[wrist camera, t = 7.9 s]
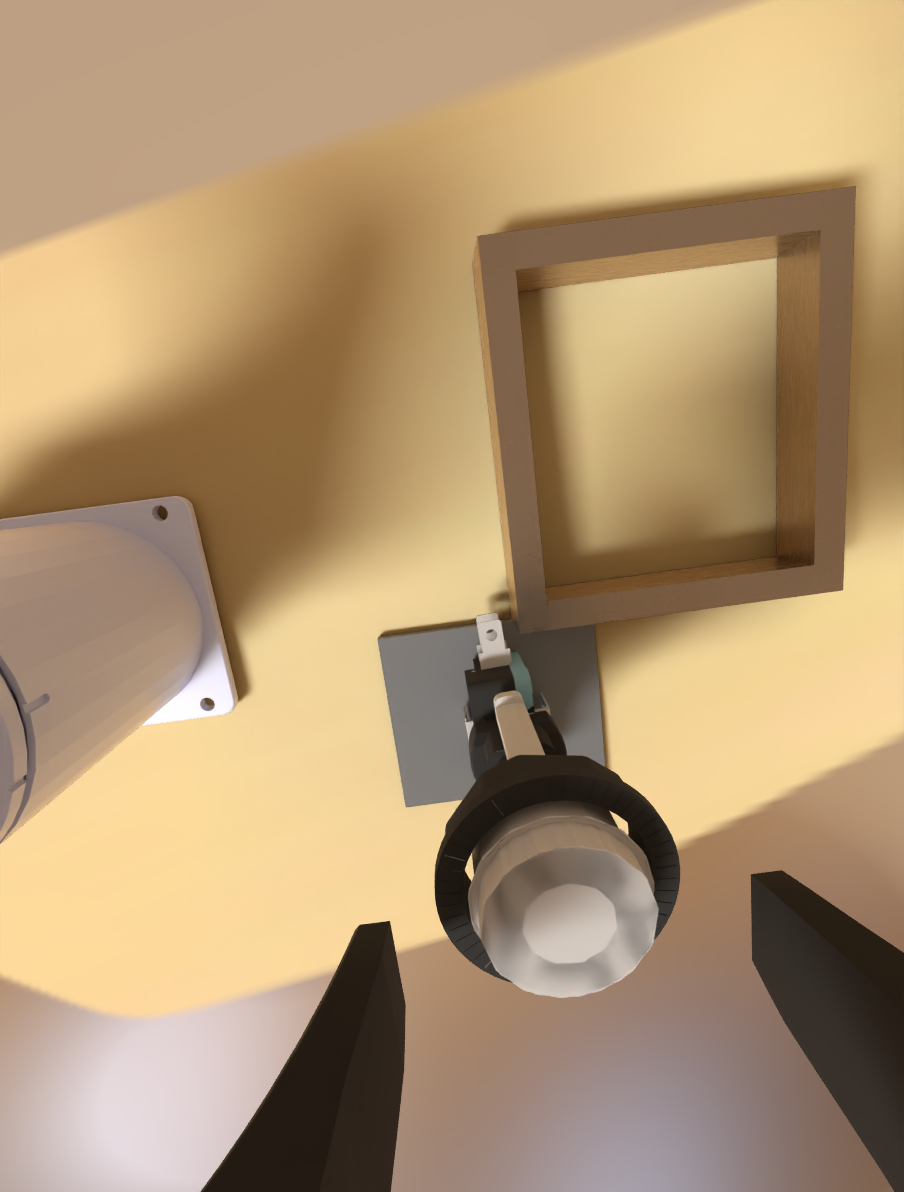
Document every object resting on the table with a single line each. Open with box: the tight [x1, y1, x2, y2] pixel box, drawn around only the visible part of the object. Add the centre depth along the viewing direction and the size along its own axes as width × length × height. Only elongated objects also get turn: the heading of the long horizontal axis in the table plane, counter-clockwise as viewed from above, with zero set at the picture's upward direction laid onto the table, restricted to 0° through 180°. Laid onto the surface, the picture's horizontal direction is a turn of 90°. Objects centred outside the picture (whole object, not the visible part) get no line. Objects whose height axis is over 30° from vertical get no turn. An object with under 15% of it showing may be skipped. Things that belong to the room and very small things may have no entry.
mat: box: [378, 619, 605, 807], centre depth 20 cm, size 8×7×1 cm
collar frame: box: [472, 186, 856, 634], centre depth 18 cm, size 11×12×2 cm
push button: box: [435, 613, 680, 998], centre depth 15 cm, size 7×5×10 cm
